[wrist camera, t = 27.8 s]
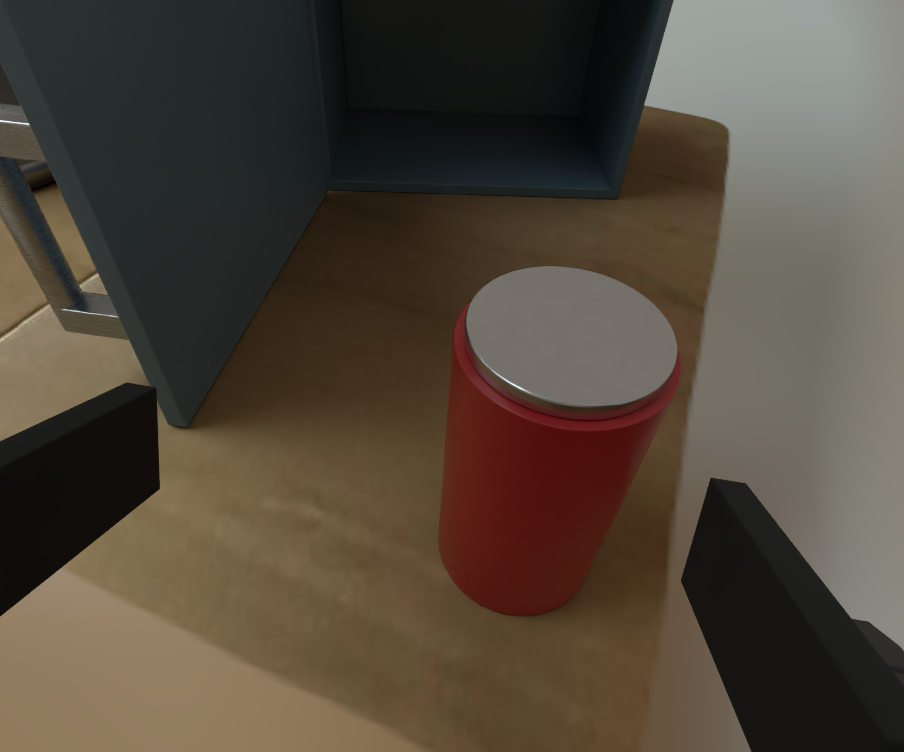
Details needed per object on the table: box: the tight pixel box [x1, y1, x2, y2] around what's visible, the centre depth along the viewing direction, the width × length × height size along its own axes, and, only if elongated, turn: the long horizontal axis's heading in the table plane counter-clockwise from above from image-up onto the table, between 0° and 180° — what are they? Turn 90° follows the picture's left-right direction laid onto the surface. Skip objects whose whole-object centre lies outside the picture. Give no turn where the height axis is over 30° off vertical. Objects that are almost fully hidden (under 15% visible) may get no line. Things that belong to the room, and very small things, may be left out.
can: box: [438, 266, 681, 616], centre depth 21 cm, size 7×7×12 cm
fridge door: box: [0, 0, 327, 427], centre depth 30 cm, size 6×24×19 cm, turn 172°
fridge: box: [306, 0, 673, 199], centre depth 44 cm, size 15×24×20 cm, turn 92°
